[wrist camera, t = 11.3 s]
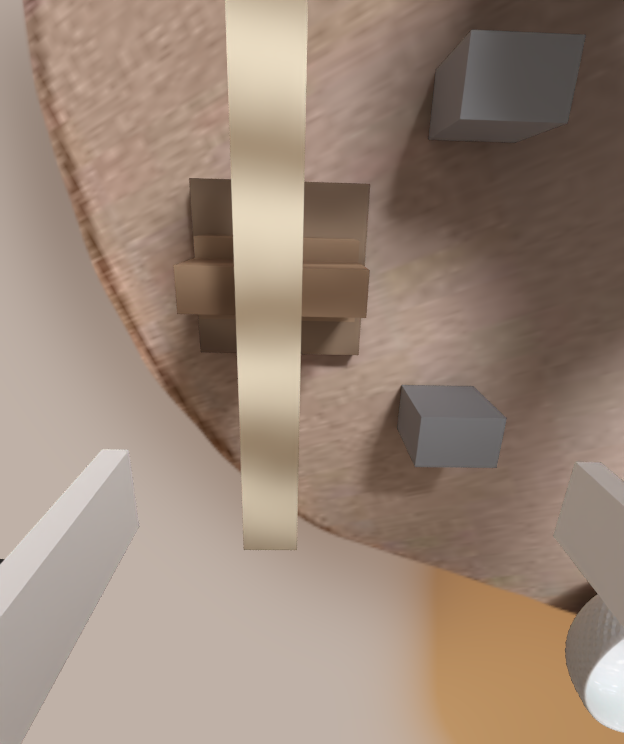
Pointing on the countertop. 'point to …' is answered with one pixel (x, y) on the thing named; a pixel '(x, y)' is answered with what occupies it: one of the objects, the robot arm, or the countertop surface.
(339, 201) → the ridge stand
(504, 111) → the bar rest
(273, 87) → the wooden bar
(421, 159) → the countertop surface
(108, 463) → the robot arm
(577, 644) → the cereal bowl
